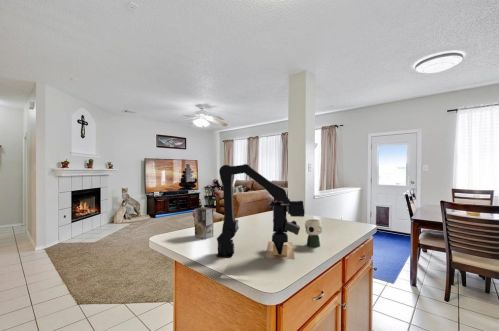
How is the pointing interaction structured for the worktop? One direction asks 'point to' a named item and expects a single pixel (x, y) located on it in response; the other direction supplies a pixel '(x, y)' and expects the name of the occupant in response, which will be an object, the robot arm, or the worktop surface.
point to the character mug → (313, 232)
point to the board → (270, 255)
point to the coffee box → (204, 222)
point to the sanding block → (284, 250)
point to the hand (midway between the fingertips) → (280, 252)
